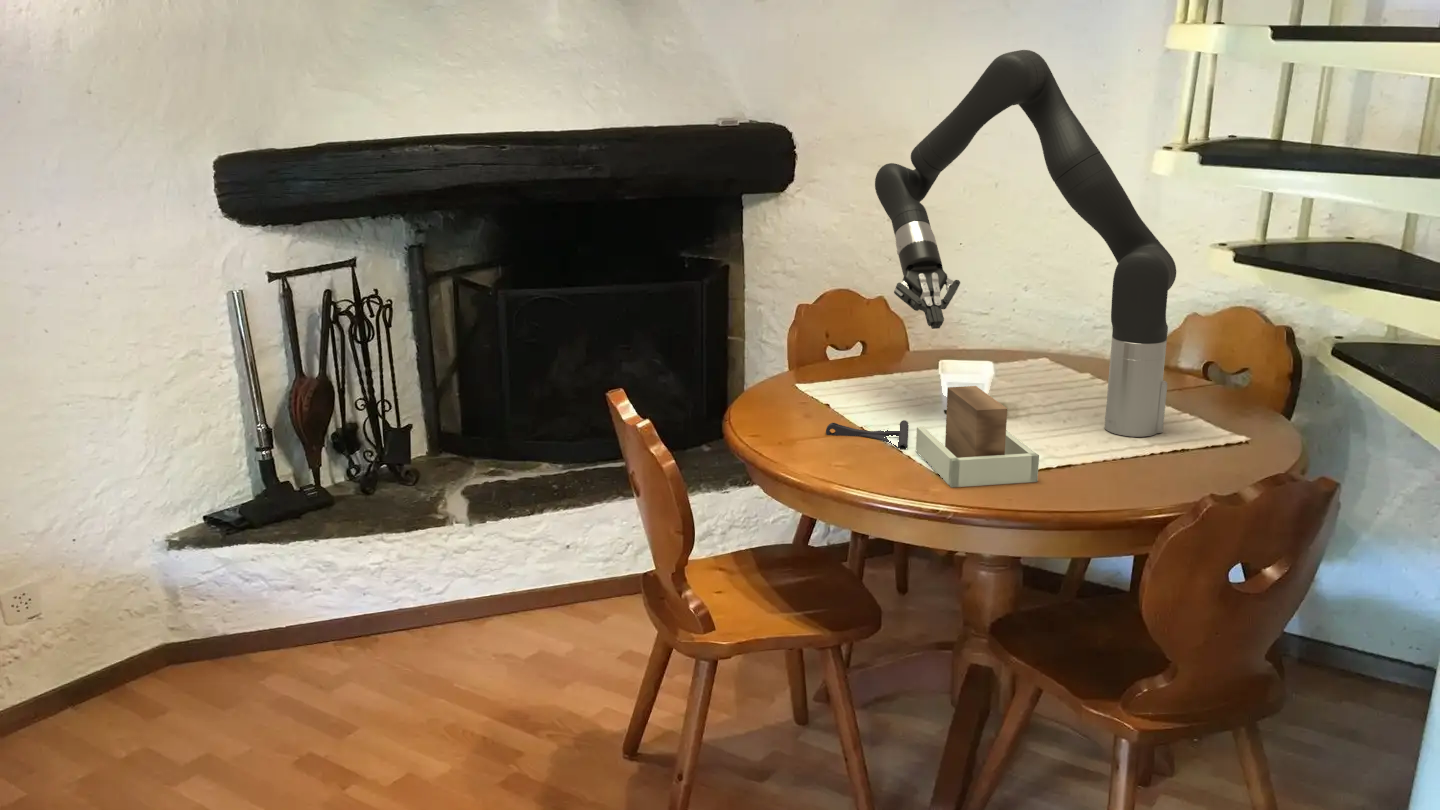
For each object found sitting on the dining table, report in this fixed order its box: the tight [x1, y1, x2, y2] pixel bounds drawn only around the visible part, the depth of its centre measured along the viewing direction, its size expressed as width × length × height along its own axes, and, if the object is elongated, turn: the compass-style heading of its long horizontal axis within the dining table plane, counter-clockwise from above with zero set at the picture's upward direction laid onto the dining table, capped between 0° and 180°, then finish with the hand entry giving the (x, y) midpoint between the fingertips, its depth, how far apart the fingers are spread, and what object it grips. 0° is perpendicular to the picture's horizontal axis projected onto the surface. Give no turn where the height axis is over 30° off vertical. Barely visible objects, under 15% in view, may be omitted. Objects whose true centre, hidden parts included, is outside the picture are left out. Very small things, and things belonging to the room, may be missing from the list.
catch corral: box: [915, 426, 1040, 488], centre depth 186 cm, size 14×18×4 cm
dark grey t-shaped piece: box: [825, 419, 909, 449], centre depth 203 cm, size 14×15×3 cm
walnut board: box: [944, 385, 1008, 458], centre depth 185 cm, size 5×14×12 cm, turn 8°
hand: (937, 326), depth 205 cm, fingers closed
